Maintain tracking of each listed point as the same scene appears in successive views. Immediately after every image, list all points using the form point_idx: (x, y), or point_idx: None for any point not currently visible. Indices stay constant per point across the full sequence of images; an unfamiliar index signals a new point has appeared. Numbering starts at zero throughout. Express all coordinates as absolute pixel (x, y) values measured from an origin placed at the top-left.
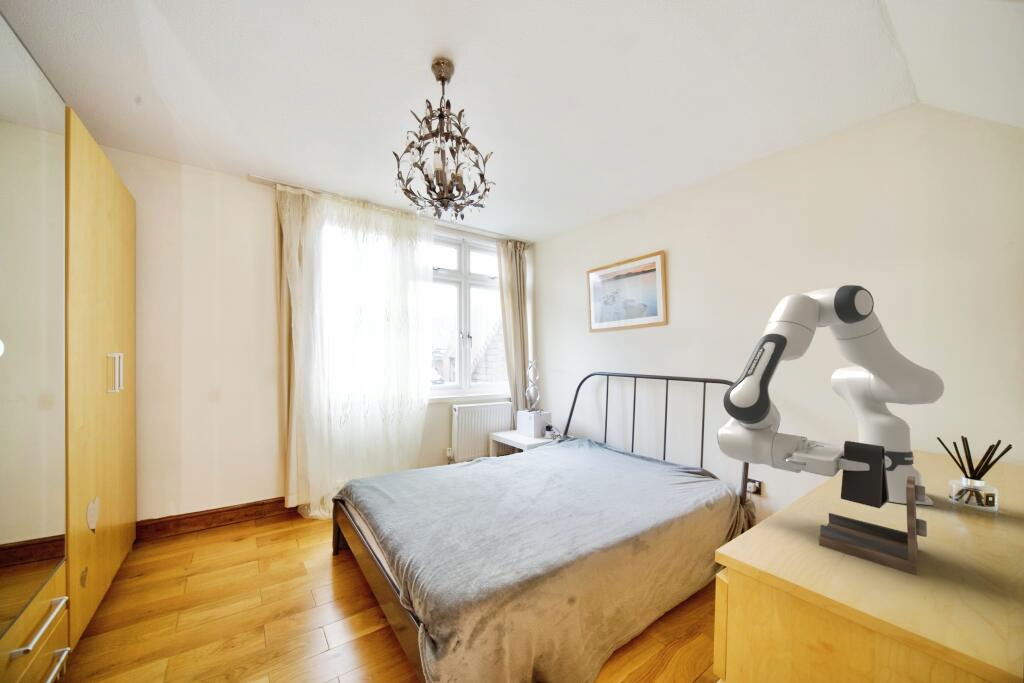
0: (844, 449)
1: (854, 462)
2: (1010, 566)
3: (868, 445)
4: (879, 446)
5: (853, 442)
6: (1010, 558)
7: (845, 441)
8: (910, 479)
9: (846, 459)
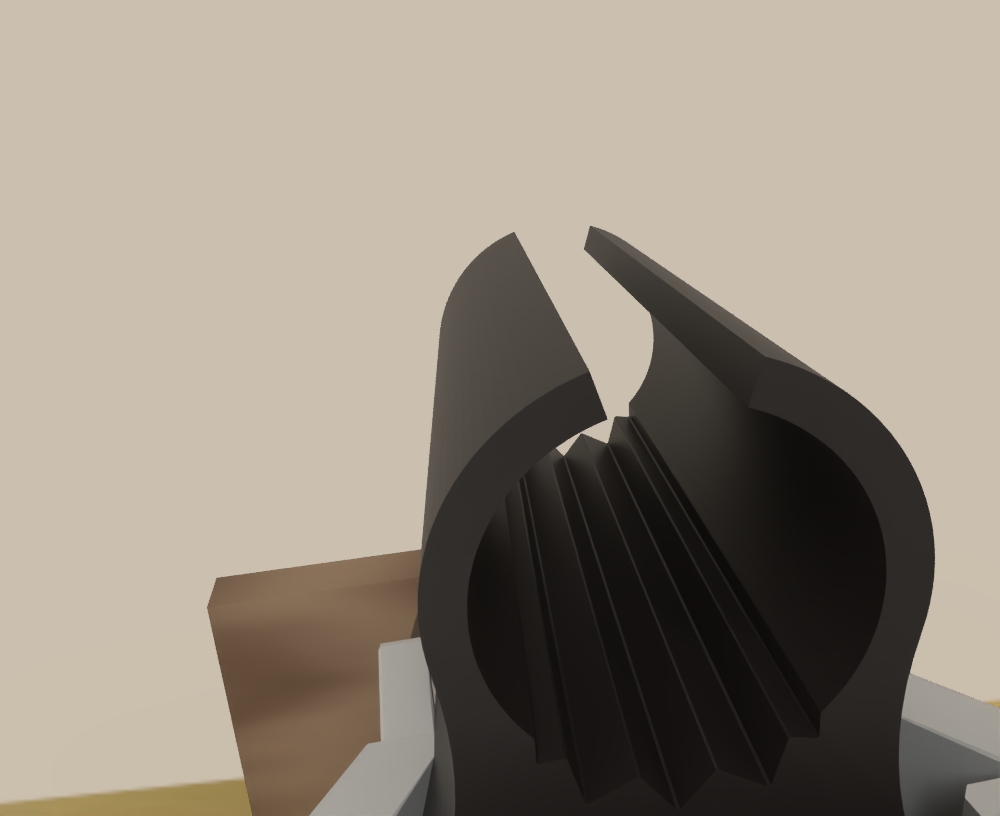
0: (912, 614)
1: (922, 693)
2: (163, 797)
3: (649, 261)
4: (596, 231)
5: (686, 305)
6: (24, 812)
7: (775, 360)
8: (393, 568)
9: (968, 794)
